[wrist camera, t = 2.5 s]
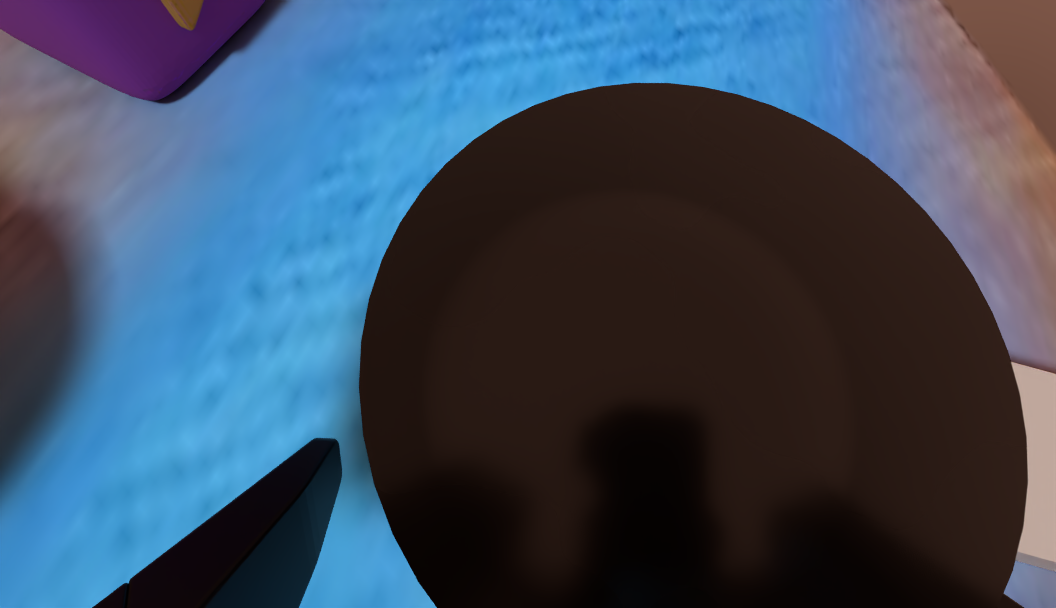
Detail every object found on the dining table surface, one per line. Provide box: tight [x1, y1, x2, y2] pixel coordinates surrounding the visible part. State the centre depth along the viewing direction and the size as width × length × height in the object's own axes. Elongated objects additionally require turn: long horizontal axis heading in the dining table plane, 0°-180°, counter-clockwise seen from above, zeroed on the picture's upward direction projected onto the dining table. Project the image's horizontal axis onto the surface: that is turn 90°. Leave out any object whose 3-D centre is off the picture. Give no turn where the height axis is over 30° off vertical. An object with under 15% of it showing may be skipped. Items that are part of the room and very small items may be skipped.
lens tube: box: [359, 83, 1028, 608], centre depth 11 cm, size 5×5×15 cm
